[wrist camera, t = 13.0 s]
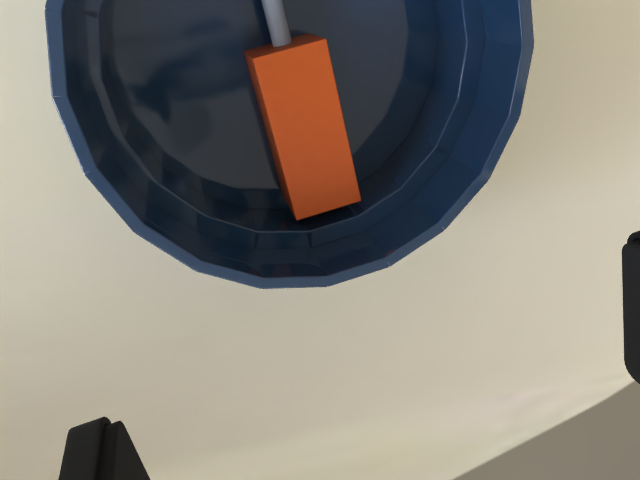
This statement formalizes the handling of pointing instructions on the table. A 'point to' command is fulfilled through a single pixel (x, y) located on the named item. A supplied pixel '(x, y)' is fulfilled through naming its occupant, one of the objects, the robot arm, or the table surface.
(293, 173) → the screwdriver
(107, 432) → the robot arm
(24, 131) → the table surface
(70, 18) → the navy round tub
